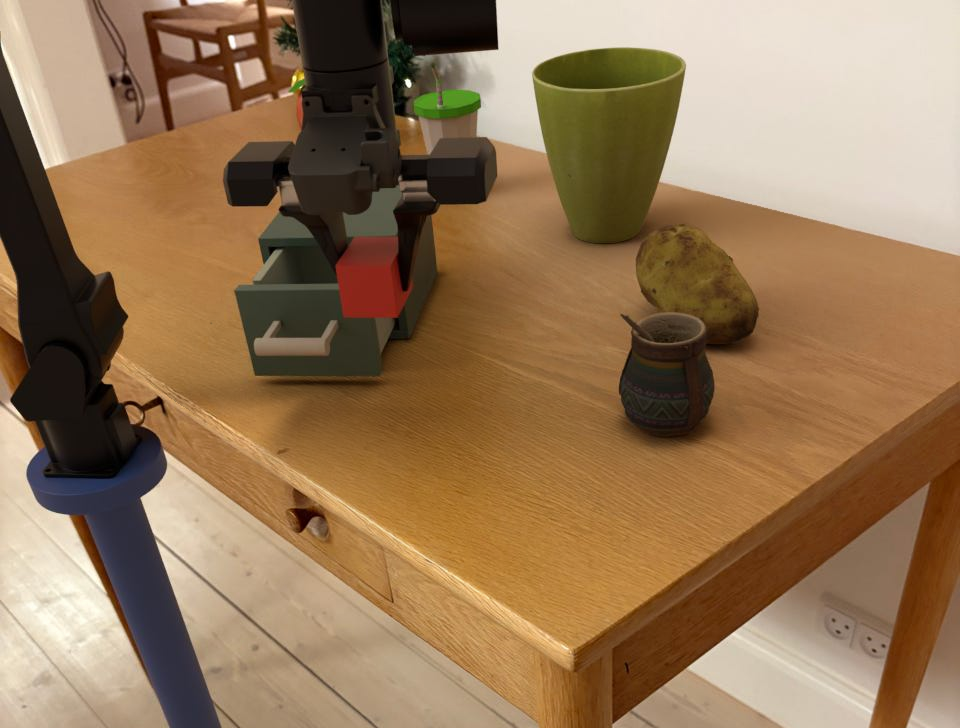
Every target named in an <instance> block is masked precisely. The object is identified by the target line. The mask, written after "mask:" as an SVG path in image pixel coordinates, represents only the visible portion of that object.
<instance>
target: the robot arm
mask: <svg viewBox="0 0 960 728" xmlns="http://www.w3.org/2000/svg"><path fill="white" fill-rule="evenodd" d="M389 1H390V12H391V21H392V28H393V29H392V30H393V34H394V38H395V40H396V41H402V42H403V43H402V44H403V46H404V47H411V50H412V54H413V56H414V57H419V56H420V57H422V56H434V55H448V54H449V55H450V54H459V53H461V54H462V53H474V52H475V53H476V52H485V51H499V49H500V48H499V33H498V32H499V31H498V30H499V29H498V11H497V9H498V8H497V0H389ZM291 5H292V11H293V17H294V22H295V23H294V24H295V29H296V36H297V42H298V47H299V53H300V60H301V65H302V72H303V77H304V78H305V85H306V87H305V88H304V89H303V90H302V91H301V94H302V108H303V121H302V129H300V131H299V133H298V135H297V137H296V139H295V143H294V141H293V140H288V141H287V140H279V141H275V140H274V141H248V142H247V143H246V144H245V145H244V146H242V147H241V148H240V150H239V151H238V152H236V154H234V155H233V156H232V157H231V159H229V160H228V162H227V163H226V165H225V166H224V167H223V172H222V174H223V175H222V184H223V187H224V192H225V197H226V202H227V204H228V205H229V206H231V207H237V208H238V207H240V208H241V207H243V208H244V207H268V206H269V205H270V203H271V202H272V200H273V199H274V198H275V197H276V195H277V194H278V192H279V196H280V201H281V205H280V206H279V207H278V213H279V212H280V213H281V215H282V216H284V217H293V218H295V219H296V220H298V221H299V222H300V223H302V224H303V225H305V226H306V227H307V228H308V230H309V231H310V233H311V234H312V235H313V237H314V238H315V240H316V241H317V243H318V244H319V246H320V248H321V249H322V251H323V252H324V255H325V256H326V258H327V260H328V262H329V264H330V266H331V267H332V269H333V271H334V273H335V275H336V277H337V273H336V264H337V263H338V261H339V260H340V258H341V257H342V255H343V254H344V252H345V250H346V249H347V247H348V240H347V234H346V228H345V222H344V216H343V212H344V213H346V214H348V215H357V214H361V213H363V212H365V211H366V210H367V209H368V208H369V207H370V205H371V202H372V193H373V192H379V191H380V189H381V188H395V187H396V186H397V185H399V188H400V192H402V197H401V198H400V200H399V201H398V203H397V205H396V206H395V208H394V210H393V214H394V217H395V220H396V223H397V227H398V257H399V274H400V280H401V285H402V291H408V289H409V287H410V283H411V279H412V274H413V270H414V266H415V261H416V257H417V252H418V248H419V243H420V239H421V235H422V231H423V227H424V224H425V221H426V218H427V216H429V215H431V216H433V215H435V214H436V213H438V210H439V209H440V207H441V205H442V206H444V205H446V206H447V205H453V206H454V205H479V204H483V203H485V202H487V200H488V198H489V195H490V194H491V191H492V190H493V187H494V185H495V183H496V180H497V178H498V160H497V150H496V147H495V145H494V144H493V143H492V142H491V140H490V139H489V138H488V137H487V136H477V137H467V138H440V139H439V141H438V142H437V144H436V145H435V147H434V149H433V150H432V152H431V154H430V155H427V154H402V153H401V149H400V147H401V145H402V142H401V141H402V140H401V131H400V129H397V121H396V115H395V113H396V112H395V104H394V95H393V87H392V86H393V84H394V82H395V77H394V68H393V65H390V60H389V53H388V43H387V36H386V35H387V34H386V26H385V18H384V17H385V16H384V9H383V0H291ZM1 34H2V33H1V32H0V241H1V243H2V246H3V248H4V251H5V253H6V255H7V258H8V260H9V263H10V265H11V268H12V270H13V273H14V276H15V280H16V297H17V298H16V301H17V325H18V331H19V334H20V339H21V343H22V348H23V352H24V355H25V360H26V364H27V366H28V370H27V371H26V373H25V375H24V376H23V378H22V380H21V381H20V382H19V384H18V385H17V387H16V389H15V391H14V392H13V393H12V395H11V396H10V398H9V401H10V403H11V405H12V406H13V407H14V408H15V410H16V411H17V412H18V413H19V414H20V416H21V417H22V418H23V419H24V420H25V421H26V422H29V423H30V422H34V424H35V427H36V429H37V431H38V433H39V437H40V439H41V441H42V444H43V447H45V448H46V451H47V453H48V456H49V458H50V462H49V464H48V465H47V466H46V467H45V468H44V470H43V471H42V472H43V475H44V477H46V478H85V479H111V478H114V477H115V476H116V475H117V474H118V473H119V471H120V470H121V469H122V467H123V466H124V464H125V463H126V462H127V460H128V459H129V458H130V456H131V455H132V454H133V452H134V451H135V450H136V448H137V447H138V445H139V444H140V443H141V441H142V437H141V435H140V434H134V431H133V429H132V426H131V424H132V423H131V420H130V417H129V415H128V410H127V408H126V406H125V404H124V402H119V398H118V396H117V393H116V390H115V387H114V384H113V383H105V382H104V381H103V379H104V377H105V376H106V374H107V372H109V371H110V369H111V367H112V360H113V358H115V355H116V353H117V351H118V350H119V349H120V346H121V345H122V342H123V339H124V335H125V334H124V333H125V330H124V325H125V324H126V322H127V320H128V319H129V314H128V313H127V312H126V310H125V309H124V308H123V307H122V305H121V302H120V301H119V299H118V296H117V291H116V284H115V280H114V277H113V274H112V272H111V271H105V272H101V273H97V274H94V273H93V272H92V271H91V270H90V269H89V268H88V267H87V265H86V264H85V263H84V262H82V260H81V259H80V258H79V256H78V255H77V253H76V250H75V248H74V246H73V243H72V240H71V237H70V235H69V232H68V229H67V226H66V224H65V220H64V218H63V215H62V212H61V209H60V207H59V204H58V201H57V199H56V196H55V194H54V193H55V192H54V190H53V187H52V185H51V182H50V180H49V177H48V174H47V171H46V168H45V166H44V163H43V161H42V158H41V155H40V151H39V149H38V147H37V143H36V141H35V138H34V136H33V132H32V130H31V128H30V125H29V122H28V119H27V117H26V113H25V111H24V108H23V106H22V103H21V100H20V97H19V94H18V92H17V89H16V85H15V84H14V81H13V78H12V76H11V73H10V70H9V69H10V68H9V67H8V64H7V61H6V59H5V55H4V53H3V48H2V40H1V39H2V37H1ZM304 78H303V79H304Z"/></svg>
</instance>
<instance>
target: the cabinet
mask: <svg viewBox="0 0 960 728" xmlns="http://www.w3.org/2000/svg"><path fill="white" fill-rule="evenodd" d="M401 197H402V192H400V188H399V185H397V186H396V187H395V188H381V189H380V191H379V192H373V193H372V202H371V205H370V207H369V208H368V209H367V210H366V211H365V212H363V213H361V214H357V215H348V214H346V213H344V212H343V216H344V222H345V228H346V234H347V240H348V245H349V244H350V243H351V241H352V240H353V238H354V237H398V227H397V223H396V220H395V217H394V214H393V210H394V208H395V206H396V205H397V203H398V201H399V200H400V198H401ZM432 217H433V215H429V216H427V218H426V221H425V224H424V227H423V231H422V235H421V239H420V243H419V248H418V252H417V257H416V261H415V266H414V270H413V274H412V282H413V288H412V290H411V292H410V294H409V296H408V298H407V300H406V302H405V304H404V306H403V308H402V310H401V312H400V314H399V316H398V319H397V321H396V323H395V325H394V327H393V329H392V331H391V334H390V336H389V338H388V340H404V339H405V340H409V339H410V337H411V336H412V333H413V331H414V328H415V327H416V324H417V322H418V319H419V318H420V315H421V312H422V310H423V308H424V306H425V304H426V302H427V299H428V297H429V295H430V292H431V290H432V288H433V286H434V283H435V282H436V279H437V276H438V274H439V273H438V272H439V271H438V261H437V253H436V245H435V243H436V242H435V236H434V225H433V218H432ZM257 240H258V245H259V250H260V255H261V259H262V263H263V265H264V264H265V263H266V261H267V260H268V259H269V257H270V256H271V255H272V253H273V252H274V251H275V249H276V248H277V247H289V246H319V244H318V243H317V241H316V240H315V238H314V237H313V235H312V234H311V233H310V231H309V230H308V228H307V227H306V226H305V225H303V224H302V223H300V222H299V221H298V220H296V219H295V218H293V217H284V216H282V215H281V213H280V212H279V211H278V212H277V214H276V215H275V216H274V217H273V219H272V220H271V221H270V223H269V224H268V225H267V227H266V228H265V229H264V230H263V231H262V232H261V234H260V235H259V236H258V238H257Z"/></svg>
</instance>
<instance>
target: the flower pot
mask: <svg viewBox="0 0 960 728" xmlns="http://www.w3.org/2000/svg"><path fill="white" fill-rule="evenodd" d="M686 69H687V63H686V61H685V59H683V58H682V57H681V56H680V55H677V54H675V53H672V52H669V51H666V50H661V49H656V48H655V49H654V48H644V47H629V46H628V47H627V46H626V47H623V46H622V47H619V46H618V47H602V48H592V49H584V50H579V51H574V52H569V53H564V54H560V55H557V56H555V57H551V58H548V59H546V60H544V61H542V62H540V63H538V64H537V65H536V66H535V67H534V68H533V70H532V72H531V78H532V83H533V90H534V97H535V102H536V108H537V115H538V120H539V126H540V131H541V136H542V141H543V144H544V149H545V152H546V153H545V154H546V157H547V161H548V166H549V168H550V172H551V175H552V178H553V182H554V185H555V188H556V191H557V195H558V198H559V201H560V204H561V207H562V210H563V213H564V215H565V217H566V220H567V222H568V225H569V228H570V230H571V233H572V235H573V236H574V237H575V238H577V239H579V240H581V241H583V242H587V243H592V244H614V243H615V244H616V243H621V242H626V241H627V240H631V239H633V238H635V237H636V236H637V235H639V233H640V232H641V230H642V229H643V227H644V224H645V221H646V218H647V216H648V214H649V211H650V209H651V206H652V203H653V200H654V198H655V195H656V193H657V192H656V191H657V189H658V186H659V183H660V180H661V177H662V174H663V171H664V167H665V164H666V159H667V157H668V153H669V149H670V145H671V142H672V138H673V135H674V132H675V131H674V130H675V126H676V122H677V117H678V112H679V107H680V103H681V98H682V92H683V87H684V83H685V75H686Z"/></svg>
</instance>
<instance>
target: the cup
mask: <svg viewBox="0 0 960 728" xmlns="http://www.w3.org/2000/svg"><path fill="white" fill-rule="evenodd" d="M429 67H430V68H431V72H432V73H433V75H434V78H435V85H436V87H435V88H436V91H434V92H430V93H429V92H428V93H425V94H422V95H420V96H419V97H417V98H415V99H414V100H413V111H414V115H415V116H418V120H419V125H420V129H421V133H422V137H423V141H424V142H423V143H424V145H425V150H426V155H430V154H431V152H432V150H433V149H434V147H435V145H436V144H437V142H438V141H439V139H440V138H467V137H478V136H477V134H478V114H479V113H478V112H479V110H480V109H481V108H482V99H481V95H480V93H479V92H476V91H474V90H473V91H472V90H470V89H469V90H468V89H447V90H442V89H443V87H442V78H441V74H440V72H439V70H438V67H437V65H436V63H435V62H431V63H430V66H429Z"/></svg>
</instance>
